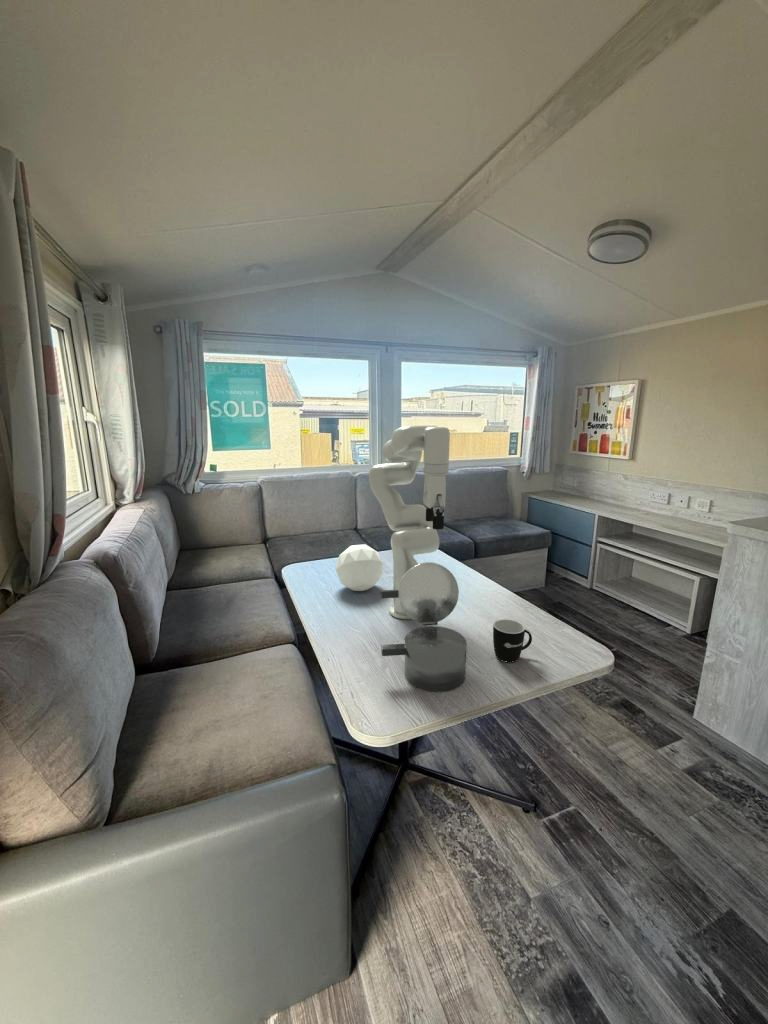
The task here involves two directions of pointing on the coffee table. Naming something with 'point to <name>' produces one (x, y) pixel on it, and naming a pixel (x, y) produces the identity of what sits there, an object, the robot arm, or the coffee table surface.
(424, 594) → the lid
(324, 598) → the coffee table surface
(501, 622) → the mug
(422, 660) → the pot
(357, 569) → the geometric polyhedron
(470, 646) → the coffee table surface
